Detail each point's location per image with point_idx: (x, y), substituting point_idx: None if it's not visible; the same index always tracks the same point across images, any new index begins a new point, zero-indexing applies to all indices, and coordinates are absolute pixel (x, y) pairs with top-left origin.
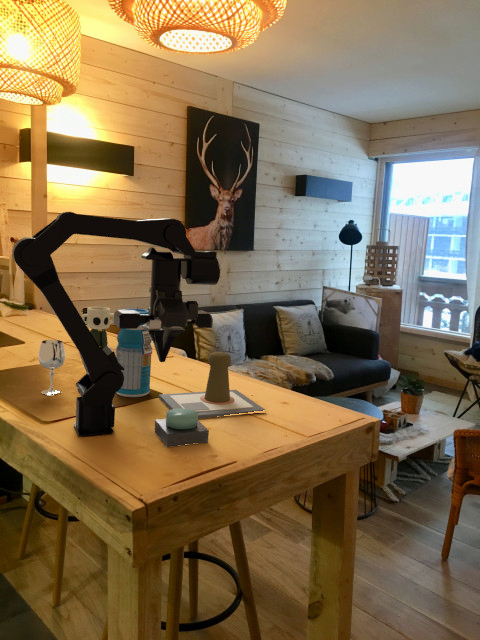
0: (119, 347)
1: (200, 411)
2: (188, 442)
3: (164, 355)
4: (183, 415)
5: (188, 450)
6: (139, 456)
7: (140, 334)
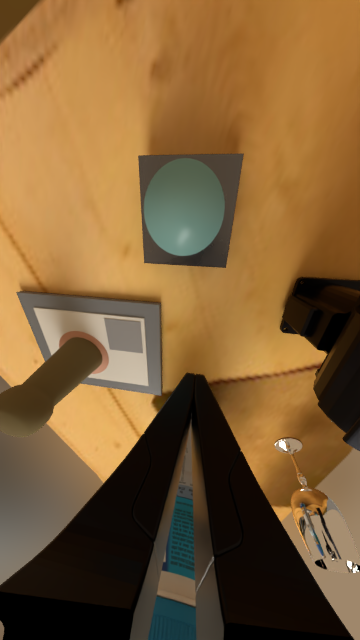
0: None
1: (121, 316)
2: None
3: (189, 392)
4: (185, 193)
5: (201, 133)
6: (320, 125)
7: (172, 550)
